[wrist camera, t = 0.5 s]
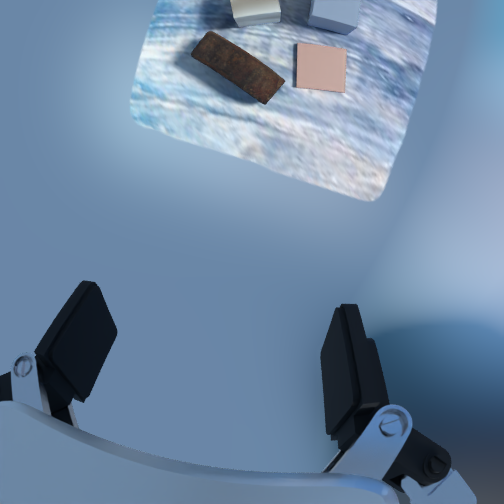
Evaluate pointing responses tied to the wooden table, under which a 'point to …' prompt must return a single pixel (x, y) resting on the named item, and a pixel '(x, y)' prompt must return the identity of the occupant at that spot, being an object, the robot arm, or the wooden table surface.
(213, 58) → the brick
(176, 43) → the wooden table surface
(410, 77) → the wooden table surface
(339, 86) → the tile
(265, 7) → the pale grey cube
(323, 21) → the slate block
